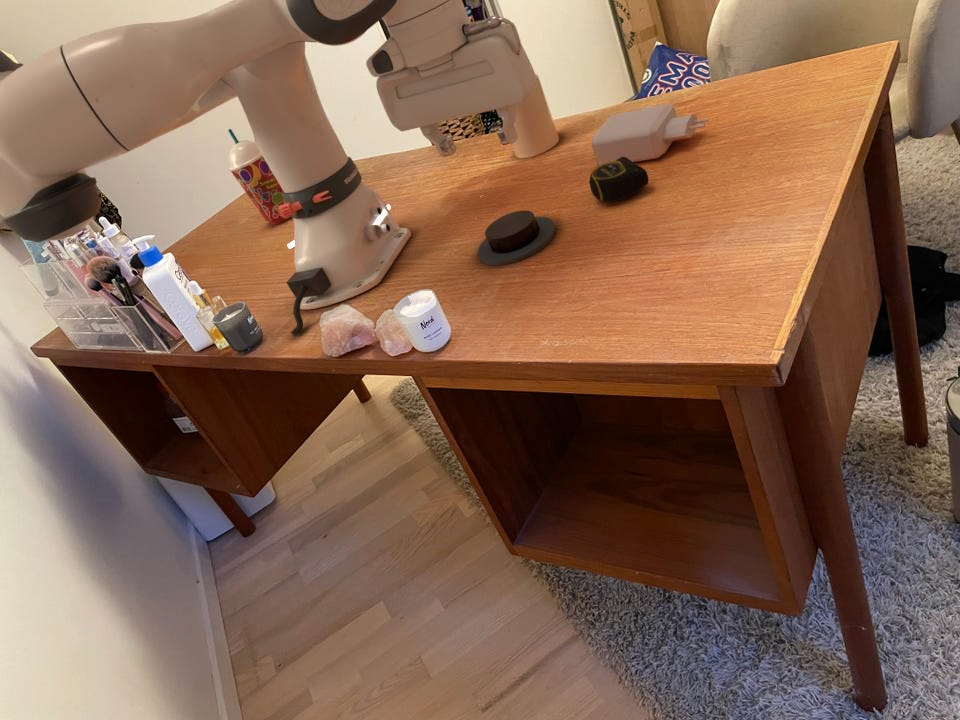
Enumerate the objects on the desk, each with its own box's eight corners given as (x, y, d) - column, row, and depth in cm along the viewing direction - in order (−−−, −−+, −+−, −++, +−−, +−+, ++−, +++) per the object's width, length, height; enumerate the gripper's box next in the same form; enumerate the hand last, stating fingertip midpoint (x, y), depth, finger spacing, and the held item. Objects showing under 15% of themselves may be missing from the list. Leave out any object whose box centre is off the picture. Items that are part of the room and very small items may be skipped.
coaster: (556, 249, 86) (554, 245, 86) (475, 274, 89) (474, 270, 89) (556, 211, 95) (554, 207, 95) (483, 235, 98) (481, 232, 98)
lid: (515, 223, 96) (509, 208, 94) (550, 227, 90) (544, 212, 89) (481, 250, 93) (474, 236, 92) (514, 256, 88) (508, 241, 86)
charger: (700, 155, 91) (599, 170, 100) (719, 124, 97) (621, 140, 106) (692, 122, 89) (589, 140, 98) (712, 91, 94) (613, 111, 103)
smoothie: (291, 222, 140) (236, 130, 129) (259, 232, 143) (202, 144, 132) (306, 203, 146) (255, 115, 136) (275, 214, 149) (222, 128, 139)
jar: (559, 147, 114) (533, 70, 107) (514, 163, 116) (486, 89, 109) (559, 131, 120) (534, 57, 113) (516, 146, 123) (490, 75, 116)
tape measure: (653, 191, 88) (646, 164, 86) (604, 213, 89) (596, 187, 87) (634, 176, 94) (627, 150, 92) (588, 196, 94) (580, 172, 92)
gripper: (522, -1, 73) (562, 122, 80) (384, 47, 85) (430, 149, 93) (495, 20, 69) (540, 147, 77) (355, 67, 81) (405, 172, 89)
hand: (479, 148), depth 85 cm, fingers open, 8 cm apart
